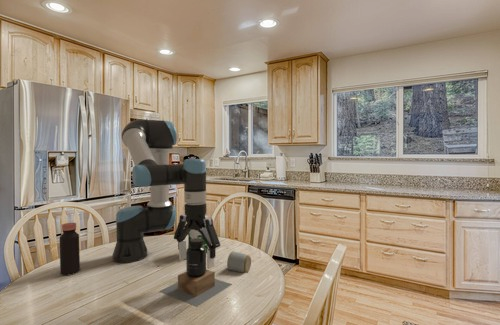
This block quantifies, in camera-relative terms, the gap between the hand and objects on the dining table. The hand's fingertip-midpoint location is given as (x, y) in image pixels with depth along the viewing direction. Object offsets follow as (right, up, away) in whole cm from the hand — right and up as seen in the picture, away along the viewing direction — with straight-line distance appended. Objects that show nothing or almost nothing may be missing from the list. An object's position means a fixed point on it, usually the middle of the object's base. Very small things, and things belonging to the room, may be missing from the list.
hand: (196, 263), depth 99 cm
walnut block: (0, -9, 0) cm, 9 cm away
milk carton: (-6, -9, +39) cm, 41 cm away
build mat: (0, -10, 0) cm, 10 cm away
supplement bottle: (0, -4, 0) cm, 4 cm away
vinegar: (-55, -10, +17) cm, 58 cm away
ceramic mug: (+15, -9, +18) cm, 25 cm away
